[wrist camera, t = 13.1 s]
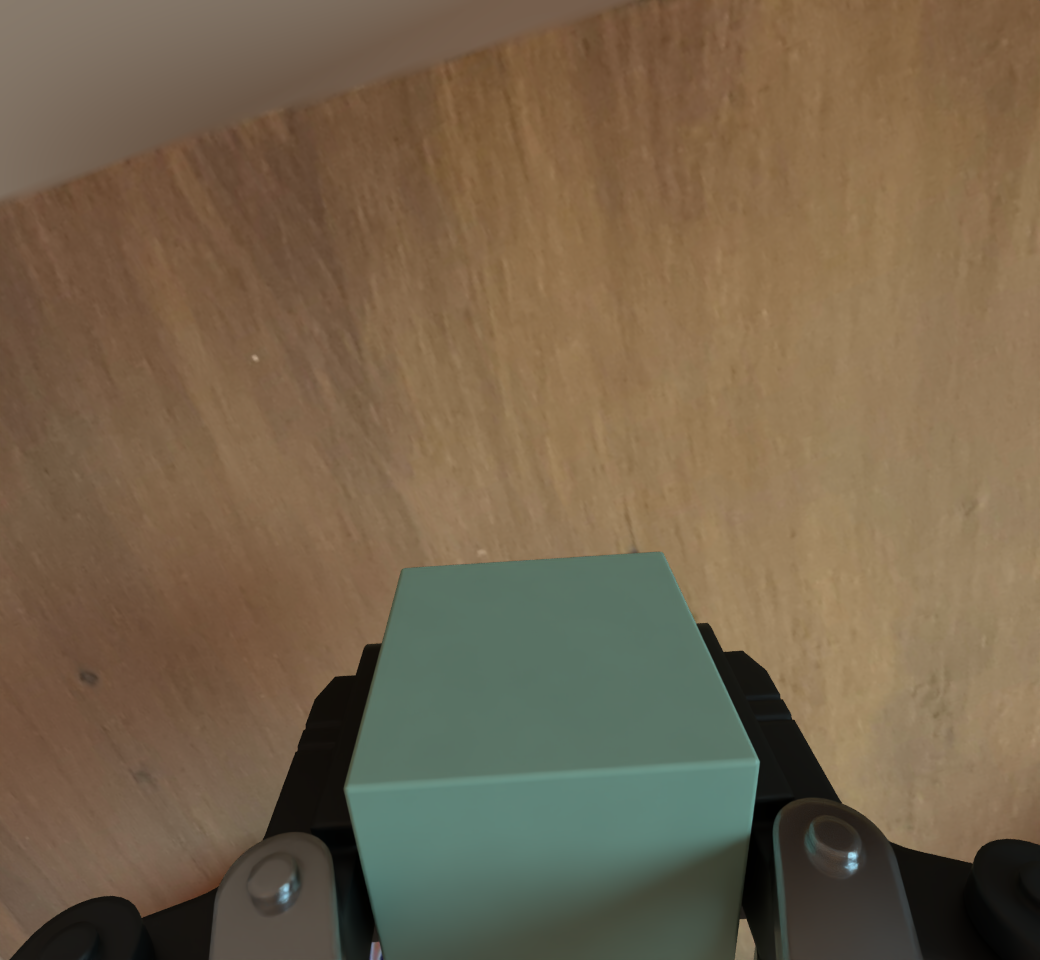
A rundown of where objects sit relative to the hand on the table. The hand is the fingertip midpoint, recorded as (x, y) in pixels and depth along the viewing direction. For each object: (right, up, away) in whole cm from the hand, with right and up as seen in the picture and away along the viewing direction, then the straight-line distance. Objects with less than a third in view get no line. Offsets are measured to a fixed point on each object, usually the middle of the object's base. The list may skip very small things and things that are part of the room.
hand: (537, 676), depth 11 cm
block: (0, 0, 0) cm, 0 cm away
